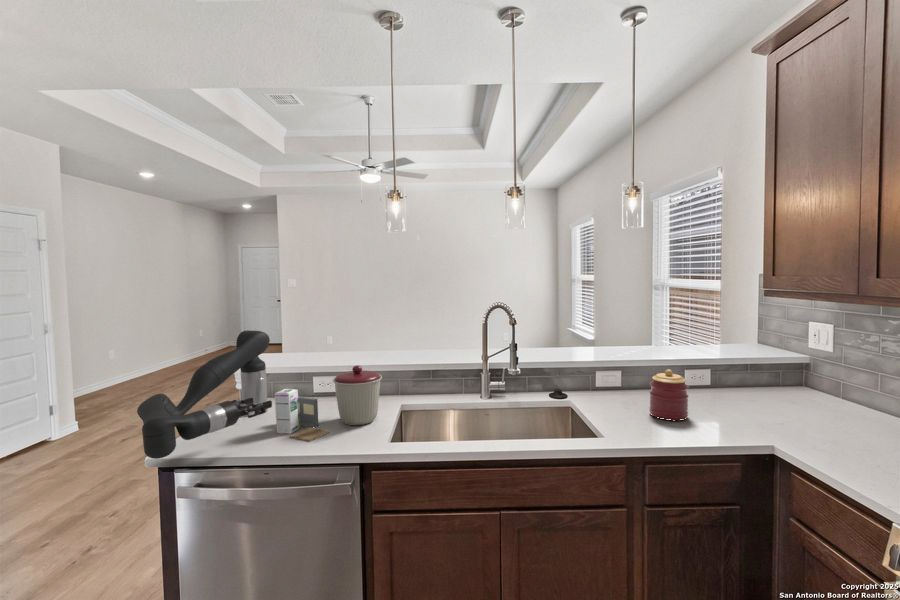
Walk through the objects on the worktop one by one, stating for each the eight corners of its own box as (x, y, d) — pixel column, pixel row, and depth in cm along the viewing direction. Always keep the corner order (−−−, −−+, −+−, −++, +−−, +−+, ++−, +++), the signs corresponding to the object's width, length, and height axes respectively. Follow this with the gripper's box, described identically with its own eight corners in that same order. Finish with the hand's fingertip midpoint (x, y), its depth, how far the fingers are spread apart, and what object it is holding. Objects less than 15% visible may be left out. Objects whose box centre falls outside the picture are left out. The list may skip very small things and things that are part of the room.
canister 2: (665, 408, 170) (665, 364, 169) (696, 418, 159) (696, 370, 158) (641, 413, 165) (642, 368, 164) (671, 424, 153) (672, 375, 152)
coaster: (290, 437, 147) (290, 435, 147) (309, 428, 155) (309, 427, 155) (310, 441, 143) (310, 439, 143) (328, 432, 152) (328, 430, 152)
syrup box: (291, 434, 150) (289, 393, 150) (276, 433, 152) (274, 392, 151) (300, 428, 156) (298, 388, 155) (285, 427, 157) (283, 388, 156)
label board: (285, 424, 161) (284, 397, 160) (291, 421, 164) (290, 395, 163) (311, 428, 155) (310, 401, 155) (318, 425, 158) (317, 398, 158)
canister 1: (327, 429, 154) (325, 371, 153) (341, 413, 172) (340, 361, 171) (378, 429, 153) (376, 370, 152) (387, 413, 171) (385, 360, 170)
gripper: (201, 426, 132) (247, 410, 146) (234, 433, 125) (278, 415, 140) (200, 402, 131) (246, 388, 146) (232, 407, 125) (277, 393, 139)
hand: (261, 402), depth 143 cm, fingers open, 8 cm apart
